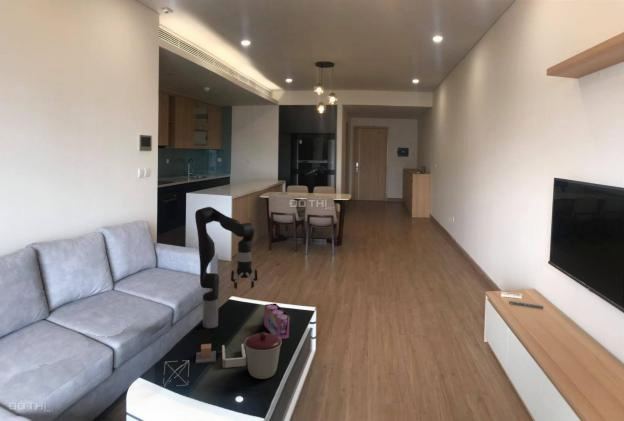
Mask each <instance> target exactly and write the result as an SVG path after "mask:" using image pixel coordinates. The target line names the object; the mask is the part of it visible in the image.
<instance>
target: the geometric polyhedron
mask: <svg viewBox="0 0 624 421" xmlns="http://www.w3.org/2000/svg"><path fill="white" fill-rule="evenodd" d="M172 362H173V363H174V362H176V363H177V360H172V361H171V360H170V361H164V364H165V365H168V367H169V368H170V369H171V370H172V371H173V373H171V375H170V377H169V378H168V379H167V381H166V382H165V379H163V380H162V381H163V382H162V385H163V384H164V387H165V386H166V384H167V383H168V381H170V379H171V377H172V376H173V374H174V373H175V374H176V376H175V378H176V377H179V378H180V379H181V380H182V381H183V383H185V384H181V385H177V387H181V386H185V385H186V386H188V385H189V383H188V382H186V380H184V379H183V378H182V377H181V376H180V374H181V372H182V371H183V370H184V369H185V367H186V365H187V364H189V362H190V360H189V359H187V360H186V359H185V360H183V362H185V363H184V364H182V365H181V366H179V367H178V368H176V370H174V368H172V366H170V364H168V363H172ZM182 366H183V368H182V369H181V370H180V372H179V373H177V372H176V371H178V370H179V369H180V368H181V367H182ZM187 369H188V370H187V371H188V372H187V376H189V371H190V370H189V369H190V365H188V367H187ZM163 370H164V371H163V374H166V371H165V370H166V366H164V369H163Z"/></svg>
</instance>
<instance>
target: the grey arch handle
mask: <svg viewBox="0 0 624 421" xmlns="http://www.w3.org/2000/svg"><path fill="white" fill-rule="evenodd" d="M221 349H222V350H221V354H222V356H221V358H222V368H223V369H224V368H234V367H235V368H236V367H237V368H238V367H247V366H246V365H247V354H246V348H245V344H244V343H241V351H240V352H241V357H232V358H226V348H225V344H222V345H221Z"/></svg>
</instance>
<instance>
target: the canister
mask: <svg viewBox="0 0 624 421" xmlns="http://www.w3.org/2000/svg"><path fill="white" fill-rule="evenodd" d="M282 340H283V339H280V338H279V337H278V336H276V335H273V334H271V332H269V333H268V332H265V331H262V332H259V333H255V334H251V335H250V336H248V337H246V339H245V340H244V342H243V344H244V347H245V355H246V365H247V370H248V373H249V375H250V376H251V377H252V378H254V379H258V380H259V379H260V380H267V379H269V378H271V377H273V376H274V375H275V374H276V372H277V368H278V364H279V357H280V351H281V346H282V343H283V342H282Z"/></svg>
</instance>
